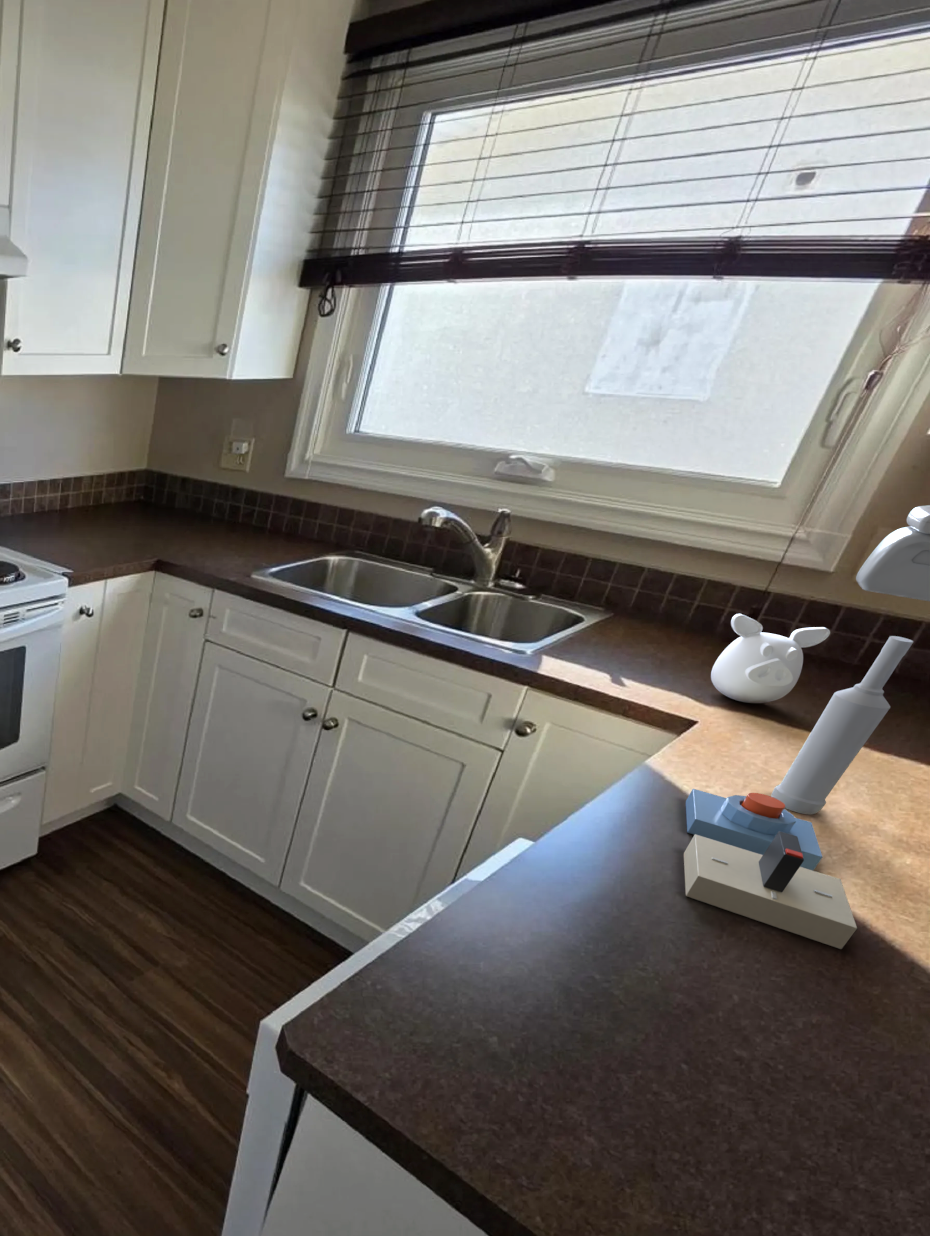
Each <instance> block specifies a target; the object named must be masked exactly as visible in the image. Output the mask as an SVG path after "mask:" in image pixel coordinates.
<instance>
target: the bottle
mask: <svg viewBox="0 0 930 1236" xmlns="http://www.w3.org/2000/svg"><path fill="white" fill-rule="evenodd" d="M913 643H914V640H912V639H909V638H906V637H902V636H898V635H897V636H896V635H889V637H888V639H887V640H886V642H885V644H884V645H883V647H882V648H881V650H880V652H879V654H878V655H877V657H876V658H875V660H874V662H873V663H872V665H871V666H870V667H869V669H868V671H867V672H866V674H865V676H864V677H863V679H862V680H861V682H859V683H856V684H854V685H853V687H849V688H845V689H841V690H837V691H835V692H834V693H833V695H832V696H831V698H830V700H829V701H828V703H827V705H826V706H825V708H824V710H823V711H822V713H821V715H820V716H819V718H818V720H817V721H816V723H815V725H814V726H813V729H812V730H811V732H810V733H809V735H808V736H807V738H806V740H805V741H804V743H803V745H802V747H801V748H800V750H799V752H798V753H797V755H796V757H795V758H794V760H793V762H792V763H791V765H790V767H789V769H788V770H787V772H786V774H785V775H784V777H783V779H782V780H781V782H780V784H777V785H776V786H774V788H773V790H772V792H771V794H770V795H771V797H773V798H776V799H778V800H780V801H781V802H783V803H784V804H785V808H784V809H785V810H788V811H791V812H795V813H799V814H804V815H816V814H817V813H818V812H820V811H821V810H822V809H823V808H824V807H825V805H826V803H827V801H826V799H827V797H828V796H829V794H830V793H831V792H832V790H833V789H834V788H835V786H836V785H837V783H838V782H839V780H840V779H841V778H842V776H843V775H844V773H845V772H846V771H847V769H848V768H849V766H850V765H851V764H852V763H853V761H854V759H855V758H856V756H857V755H858V753H859V752H861V750H862V748H863V746H864V745H865V744H866V742H867V741H868V739H869V738H870V737H871V735H872V734H873V733H874V732H875V730H876V728H877V727H878V726H879V724H880V723H881V721H882V720H883V719H884V717H885V716H886V715H887V713H888V711H889V710H890V709H891V705H890V704H889V702H888V701H887V699H886V698H885V696H884V694H885V691H884V690H883V687H885V685H886V684H887V682H888V680H889V679H890V677H891V676H892V674H893V672H895V670H896V668H897V667H898V665H899V664H900V662H901V661H902V659H903V658H904V656H906V654H907V652H908V651H909V649H910V648H911V646H913V645H912V644H913Z"/></svg>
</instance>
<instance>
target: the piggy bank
mask: <svg viewBox="0 0 930 1236" xmlns="http://www.w3.org/2000/svg"><path fill="white" fill-rule="evenodd" d="M730 626H731V629H732V630H733V632H734V633H736V634H737V635H738V636H739V637H737V638H736V639H734V640H733V641H732V642H730V644H728V645H727V646H726V647H725V648H724V650H723V651H722V652H721V653H720V654H719V656H718V657H717V659H716V660H715V662H714V664H713V665H712V668H711V672H710V680H711V683H712V685H713V686H714V688H715V689H716V690H717V691H718V692H719V693H721V694H722V695H724V696H725V697H727V698H729V699H730V700H733V701H734V700H735V701H737V702H740V703H747V704H765V703H766V704H767V703H771V702H775V701H777V700H780V699H782V698H784V697H785V696H787V695H788V694H789V693H790V692H791V691H792V690H793V689H794V687H795V686H796V685H797V684H798V683H797V682H798V681H799V678H800V677H801V673H802V670H803V664H804V652H803V649H802V648H810V647H814V646H816V645H818V644H821V643H823V642H824V641H826V640H827V639H828V638H829V637H830V635H831V630H830V629H829V628H827V627H825V626H816V627H815V626H813V627H802V628H798V629H795V630H793V631H792V632H791V633H790V636H789V637H787V636H783V635H780V634H776V633H770V632H764V631H763V629H764V627H763V625H762V623H761V622H759V621H757V620H756V619H754V618H751V617H749V616H747V615H745V614H742V613H736V614H734V615H733V616H732V617H731V620H730ZM762 631H763V632H762Z"/></svg>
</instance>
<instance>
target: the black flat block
mask: <svg viewBox="0 0 930 1236" xmlns="http://www.w3.org/2000/svg"><path fill="white" fill-rule="evenodd" d="M803 861H804V858H803V855H802V851H801V848H800V844H799V841H798V837H797V836H794V835H791V834H787V833H784V832H780V831H778V833H777V834H776V836H775V837H774V839H773V841H772V842H771V844H770V845H769V847H768V848H767V850H766V851H765V853H764V854H763V856H762V857H761V859H760V861H759V867H760V872H761V877H762V882H763V886H764V887H767V888H770V889H773V890H776V891H779V892H783V891H784V889H785V888H786V886H787V885H788V883H789V882H790V880H791V879H792V877H793V876H794V874H795V873H796V872H797V870H798V869H799V867H800V866H801V864H802V863H803Z"/></svg>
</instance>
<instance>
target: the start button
mask: <svg viewBox="0 0 930 1236" xmlns="http://www.w3.org/2000/svg"><path fill="white" fill-rule="evenodd" d="M745 796H746V798H745V800H744V801H743V803H742V805H741V806H742V807H744V808H745V809H746V810H748V811H751V812H753V813H755V814H758V815H761V816H765V817H768V818H776V819H777V818H778V817H779V816H780V814H781V813H782V811H783V810H784V809H786V808H785V804H784V803H783V802H781V801H780V800H778V799H776V798H773V797H771V796H770V795H767V794H765V793H759V792H749V793H747V794H746V795H745Z"/></svg>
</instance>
